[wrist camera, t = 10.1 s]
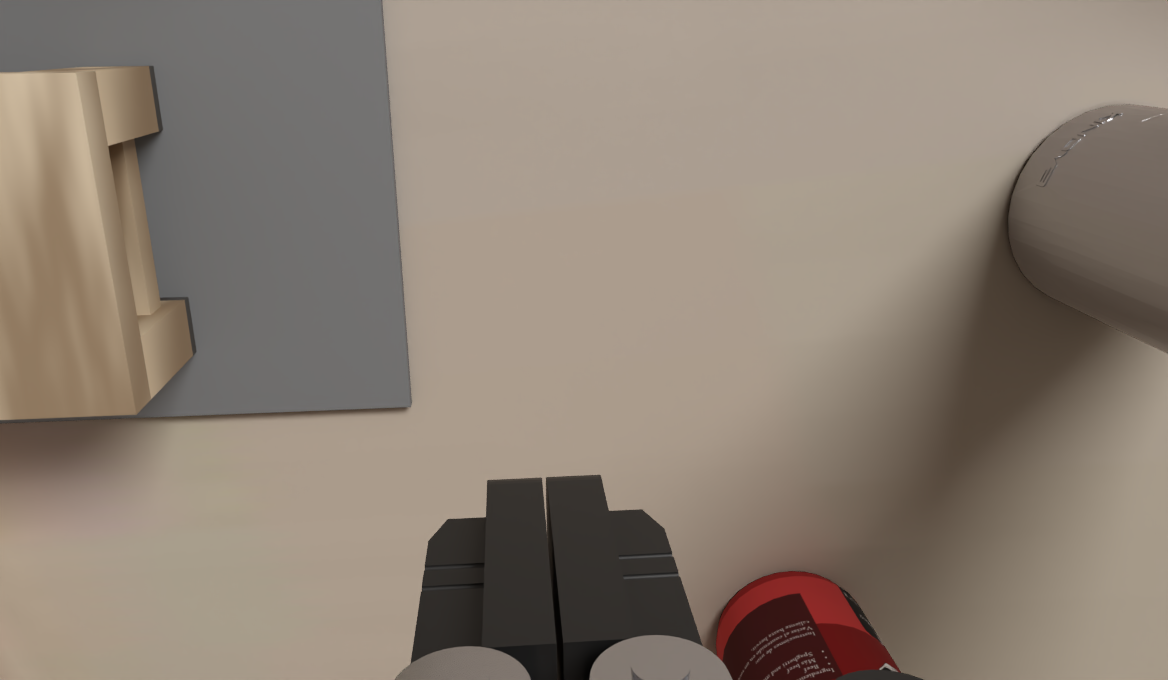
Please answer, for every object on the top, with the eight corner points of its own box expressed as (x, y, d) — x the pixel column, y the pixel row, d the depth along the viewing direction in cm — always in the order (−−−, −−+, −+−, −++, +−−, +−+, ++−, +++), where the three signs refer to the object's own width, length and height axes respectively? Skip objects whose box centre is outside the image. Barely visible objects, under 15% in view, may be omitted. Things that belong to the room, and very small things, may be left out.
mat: (380, -16, 37) (379, -17, 36) (411, 402, 42) (410, 406, 42) (-235, -14, 35) (-245, -14, 34) (-116, 423, 41) (-123, 428, 40)
